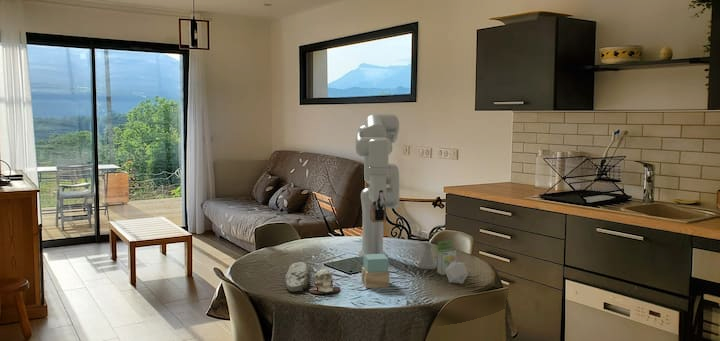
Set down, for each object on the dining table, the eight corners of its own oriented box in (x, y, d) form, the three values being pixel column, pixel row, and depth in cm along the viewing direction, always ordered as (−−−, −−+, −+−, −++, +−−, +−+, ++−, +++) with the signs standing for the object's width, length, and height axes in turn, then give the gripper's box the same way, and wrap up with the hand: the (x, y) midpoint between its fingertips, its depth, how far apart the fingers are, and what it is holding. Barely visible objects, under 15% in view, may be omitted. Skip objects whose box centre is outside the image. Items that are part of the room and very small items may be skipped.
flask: (435, 270, 247) (435, 247, 246) (417, 269, 248) (418, 246, 247) (436, 266, 254) (437, 243, 253) (419, 264, 255) (420, 242, 254)
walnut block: (370, 219, 227) (370, 204, 226) (382, 219, 228) (382, 204, 227) (372, 222, 222) (373, 206, 222) (385, 221, 223) (386, 206, 223)
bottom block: (361, 281, 231) (361, 266, 230) (383, 280, 232) (384, 265, 232) (365, 288, 222) (366, 273, 221) (389, 287, 224) (389, 272, 223)
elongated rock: (311, 270, 250) (287, 272, 249) (310, 258, 250) (287, 260, 249) (310, 292, 215) (283, 294, 214) (309, 278, 215) (282, 279, 214)
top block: (363, 266, 230) (363, 254, 229) (383, 265, 231) (383, 253, 231) (367, 272, 222) (367, 259, 222) (388, 271, 224) (388, 258, 223)
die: (456, 288, 224) (471, 268, 225) (438, 274, 228) (453, 254, 228) (459, 290, 232) (474, 270, 232) (442, 276, 235) (456, 257, 236)
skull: (347, 290, 215) (329, 272, 212) (326, 311, 214) (308, 292, 210) (337, 280, 226) (320, 262, 223) (318, 299, 225) (300, 282, 222)
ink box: (442, 275, 239) (442, 243, 237) (436, 273, 242) (437, 241, 241) (456, 273, 242) (456, 241, 240) (450, 271, 245) (451, 239, 244)
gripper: (364, 169, 231) (363, 215, 233) (373, 174, 214) (373, 223, 216) (382, 169, 232) (381, 214, 234) (393, 173, 216) (392, 222, 217)
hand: (377, 218), depth 225 cm, fingers closed on walnut block, 5 cm apart
